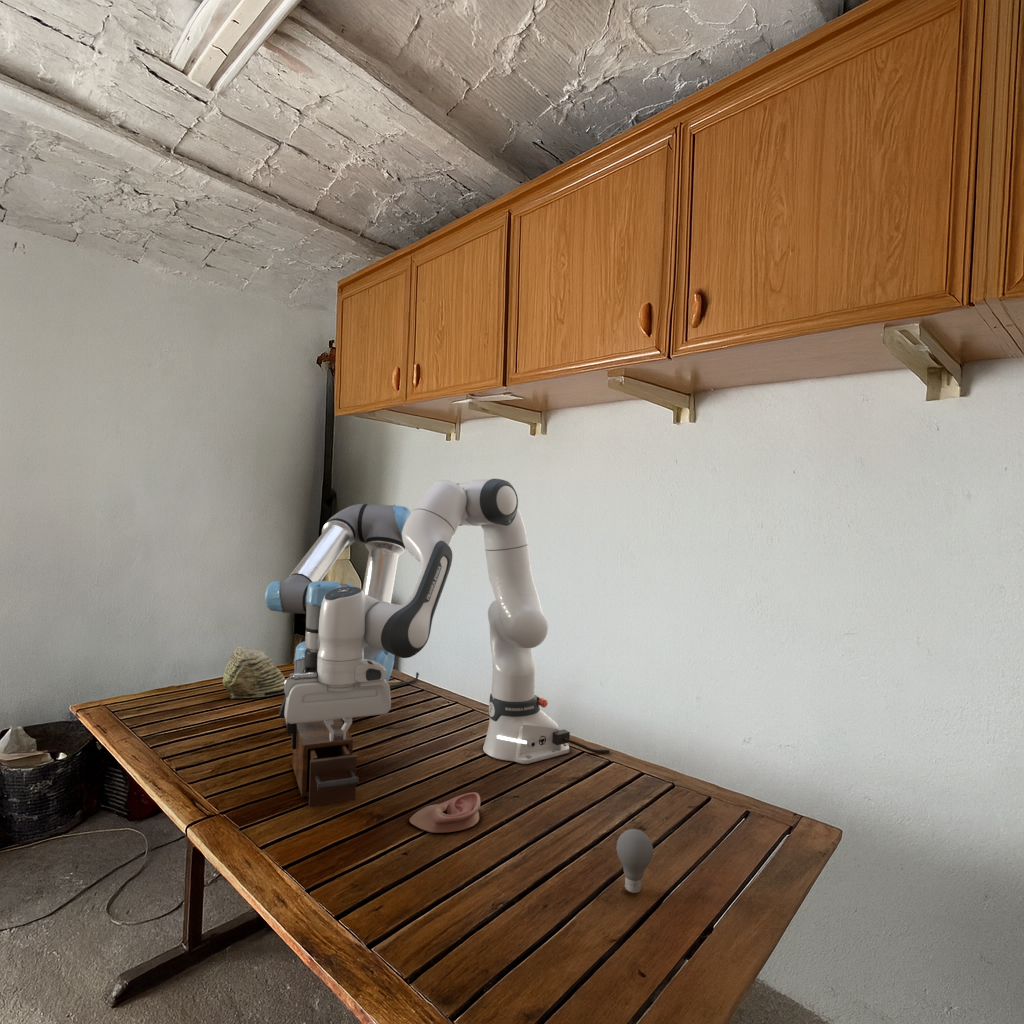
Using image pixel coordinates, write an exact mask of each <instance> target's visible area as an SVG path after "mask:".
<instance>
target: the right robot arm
mask: <svg viewBox="0 0 1024 1024" xmlns="http://www.w3.org/2000/svg"><path fill="white" fill-rule="evenodd" d="M410 512H411V513H410V515H409V517H408V518H407V520H406V522H405V524H404V527H403V530H402V540H403V543H404V546H405V550H406V551H407V552H408V553H409V554H410V555H411V556H412V557H413V558H414V559H416V560H417V561H418V562H419V563H420V571H419V573H418V576H417V579H416V581H415V584H414V585H413V586H414V587H413V589H412V591H411V594H410V596H409V598H408V600H407V601H405V602H404V603H402V604H397V603H392V602H391V603H388V602H384V601H380V600H377V599H374V598H372V597H370V596H368V595H367V594H365V593H364V592H363V591H362V590H363V588H360V587H358V586H355V587H341V588H336V589H333V590H331V591H329V592H328V593H326V595H325V596H324V598H323V601H322V604H321V609H320V617H319V638H320V649H319V651H318V659H317V672H309V673H303V674H300V673H296V674H293V676H290V677H289V676H288V677H287V678H285V680H286V681H285V683H284V692H283V694H284V696H285V695H286V696H287V697H286V703H285V711H284V716H285V718H284V719H285V722H286V721H287V722H288V723H289V724H295V723H305V722H314V721H324V723H325V725H326V727H327V728H328V730H329V732H330V735H329V738H330V742H333V741H341V740H346V732H347V730H348V731H349V729H350V727H351V726H352V724H353V718H361V717H362V718H363V717H370V716H381V715H387V714H389V712H390V711H391V708H392V697H391V695H392V694H391V688H390V687H389V686H390V684H389V682H387V681H386V680H385V679H386V676H387V672H386V670H385V668H384V667H383V666H382V665H381V664H380V663H378V662H375V661H371V660H367V659H364V651H363V650H364V648H365V647H368V646H370V647H372V648H375V649H379V650H383V651H387V652H389V653H391V654H393V655H394V656H395V657H398V658H400V659H410V658H412V657H414V656H416V655H417V654H419V653H420V652H421V651H422V650H423V649H424V647H425V646H426V645H427V643H428V641H429V638H430V635H431V630H432V624H433V619H434V617H435V613H436V611H437V608H438V604H439V601H440V598H441V596H442V593H443V591H444V587H445V585H446V582H447V579H448V576H449V573H450V570H451V567H452V563H453V550H452V547H451V543H452V541H453V538H454V536H455V535H456V533H457V530H458V529H459V527H461V526H467V527H469V526H471V527H479V526H480V527H481V529H482V530H483V539H484V540H483V541H484V543H483V544H484V549H485V550H484V551H485V558H486V566H487V572H488V581H489V583H490V585H491V588H492V591H493V594H494V598H495V599H494V600H493V601H492V602H491V603H490V604H489V606H488V609H487V620H488V625H489V639H490V649H491V659H492V677H491V692H490V694H489V702H488V716H489V720H488V725H487V731H486V736H485V740H484V744H483V746H482V751H483V752H484V753H485V754H486V755H488V756H489V757H492V758H493V759H497V760H500V761H501V760H502V761H508V762H509V761H510V762H514V763H518V764H522V765H529V764H532V763H536V762H540V761H543V760H548V759H551V758H555V757H558V756H562V755H566V754H569V753H570V745H569V744H572V745H574V746H577V747H579V748H582V749H584V750H586V751H587V752H591V753H595V754H610V751H611V750H610V749H596V748H591V747H589V746H587V745H585V744H583V743H580V742H577V741H574V740H572V739H570V737H571V732H570V731H569V730H567V729H563V728H562V729H560V727H559V725H558V723H557V722H556V721H555V719H553V718H552V717H550V716H549V715H548V714H547V713H546V712H545V711H543V710H542V709H541V708H547V706H548V704H549V702H548V700H547V699H546V698H544V697H539V696H538V695H536V694H535V687H536V662H535V659H534V654H533V649H534V648H537V647H538V646H540V645H541V644H542V643H543V642H544V641H545V639H546V638H547V636H548V632H549V624H548V620H547V618H546V616H545V614H544V611H543V608H542V604H541V599H540V597H539V593H538V589H537V587H536V583H535V580H534V576H533V571H532V563H531V556H530V548H529V541H528V534H527V530H526V526H525V522H524V519H523V515H522V513H521V510H520V509H519V497H518V494H517V491H516V489H515V488H514V486H513V484H512V483H511V482H509V481H508V480H505V479H500V478H490V479H486V478H485V479H473V480H470V481H465V482H460V483H456V482H454V481H451V480H447V479H440V480H437V481H435V482H434V483H432V484H431V485H430V486H429V487H428V488H427V489H426V491H425V492H424V493H423V495H421V497H420V498H419V499H418V500H417V502H416V503H415V505H414V507H413V509H412V510H411V511H410ZM291 678H293V679H291ZM334 719H343V720H344V722H345V723H344V725H343V726H342V728H341V729H337V730H333V729H332V727H331V725H333V720H334Z"/></svg>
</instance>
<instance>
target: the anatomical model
mask: <svg viewBox="0 0 1024 1024" xmlns="http://www.w3.org/2000/svg"><path fill="white" fill-rule="evenodd" d="M480 808H481V796H480V794H479V793H478V792H476V791H475V792H467V793H463V794H460V795H458V796H455V797H452V798H450V799H448V800H445V801H443V802H441V803H435V804H430V805H427V806H424V807H422V808H421V809H419V810H418V811H416V812H415V813H414V814H412V816H411V817H410V818H409V823H410V824H411V825H413V826H414V827H416V828H418V829H420V830H423V831H426V832H428V833H433V834H441V833H452V832H458V831H464V830H467V829H469V828H471V827H474V826H475V825H476V824H478V823H479V820H480V812H479V809H480Z"/></svg>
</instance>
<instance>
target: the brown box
mask: <svg viewBox="0 0 1024 1024" xmlns="http://www.w3.org/2000/svg"><path fill="white" fill-rule="evenodd" d="M343 725H344V723H343V722H342V720H341V719H334V720H333V725H331V727H332V729H333V730H337V729H341V728H342V726H343ZM329 735H330V732H329V730H328V728H327V727H326V725H325V723H324V721H314V722H305V723H297V732H296V749H292V759H291V761H292V762H291V763H292V764H291V766H292V769H293V772H294V776H295V779H296V782H297V783H296V784H297V786H298V789H299V793H300V796H301V798H307V797H309V788H308V785H307V764H308V749H313V748H321V747H329V746H337V745H345V746H346V748H347V749H348V751H349V753H350V755H353V751H354V750H353V747H354V739H353V737H352V735H351V733H350V732H349V729H348V730H347V732H346V740H341V741H333V742H330V738H329Z"/></svg>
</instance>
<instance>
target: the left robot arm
mask: <svg viewBox="0 0 1024 1024" xmlns="http://www.w3.org/2000/svg"><path fill="white" fill-rule="evenodd" d="M411 512H412V511H411V510H410V509H409V508H408V507H406V506H404V505H403V506H402V505H396V504H392V505H391V504H390V505H389V504H371V503H370V504H368V503H357V504H353V505H350V506H348V507H345V508H343V509H341V510H340V511H338V512H336V513H335V514H334V515H332V516H331V517H330V518H329V519H328V520H326V522H325V524H324V525H323V526H322V528H321V534H320V536H319V537H318V538H317V540H316V541H315V542H314V543H313V545H311V547H310V549H309V550H308V551H307V552H306V553H305V555H304V556H303V557H302V559H300V561H299V563H298V564H297V565H296V566H295V568H294V569H293V570H292V572H291V573H290V574H289V575H288V576H287V578H286V579H285V580H284V581H282V580H278V581H276V580H275V581H272V582H270V583H269V584H268V586H266V590H265V594H264V602H265V606H266V608H267V609H268V610H270V611H272V612H278V613H283V614H285V613H286V614H287V613H289V614H304V615H306V616H305V637H304V638H305V639H304V641H302V642H299V643H298V644H297V645H296V647H295V652H294V653H295V654H294V659H293V661H294V670H293V671H294V672H290V673H289V676H288V678H289V677H290V676H293V674H296V673H300V674H303V673H309V672H317V659H318V651H319V649H320V638H319V617H320V609H321V604H322V601H323V598H324V596H325V595H326V593H328V592H329V591H331V590H333V589H336V588H341V587H356V586H355V585H353V584H351V583H339V582H338V581H334V580H324V578H325V577H326V575H327V574H328V572H329V571H330V569H332V567H333V566H334V564H335V562H336V561H337V560H338V558H339V557H340V555H341V554H342V552H343V551H344V550H345V549H348V548H350V547H351V546H352V545H353V544H356V543H365V545H364V546H365V549H367V551H368V552H369V553H368V557H367V563H366V569H365V573H364V579H363V585H362V591H363V592H364V593H365V594H367V595H368V596H370V597H372V598H374V599H377V600H380V601H384V602H388V603H392V598H393V593H394V587H395V581H396V573H397V568H398V561H399V557H400V556H401V555H403V554H404V553H405V550H406V548H405V546H404V543H403V540H402V530H403V527H404V524H405V522H406V520H407V518H408V517H409V515H410V513H411ZM363 651H364V659H367V660H371V661H375V662H378V663H380V664H381V665H382V666H383V667H384V668H385V670H386V672H387V676H386V679H385V680H386V681H387V683H389V681H390V678H391V677H392V676H391V675H392V673H393V670H394V666H395V655H393V654H391V653H389V652H387V651H383V650H379V649H375V648H372V647H370V646H368V647H365V648H364V650H363ZM419 676H420V674H419V672H416V673H415V678H414V679H412V680H409V681H405V682H401V683H396V684H392V685H389V687H390V689H391V688H397V687H401V686H405V685H409V684H413V683H415V682H416V681H418V679H419ZM291 679H293V678H291ZM286 697H287V696H286V695H285V694H284V696H283V700H282V702H281V705H280V708H279V711H278V715H279V718H280V719H285V716H284V711H285V703H286ZM341 720H342V722H343V723H345V722H344V720H343V719H341ZM285 726H286V732H287V734H288V735H291V738H290V740H291V741H290V747H291V749H292V750H293V749H296V732H297V723H295V724H289V723H288V722H287V721H286V720H285Z"/></svg>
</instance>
